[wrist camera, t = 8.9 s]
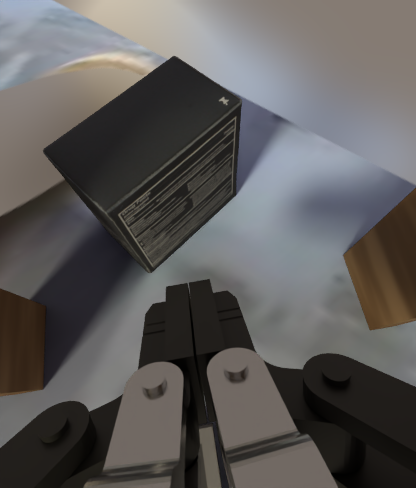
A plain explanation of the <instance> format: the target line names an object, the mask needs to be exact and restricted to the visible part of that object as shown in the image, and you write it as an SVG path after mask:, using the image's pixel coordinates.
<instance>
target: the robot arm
mask: <svg viewBox="0 0 416 488" xmlns="http://www.w3.org/2000/svg"><path fill="white" fill-rule="evenodd" d="M189 288H190V294H189ZM189 288H188V284H187V283H185V284H179V285H174V286H168V287H166V302H160V303H155V304H152V306H151V307H150V309H149V310H148V311H147V313H146V314H145V322H144V329H143V337H142V344H141V352H140V359H139V367H138V370H137V371H136V372H135V373H134V374H133V375H132V376H131V377H130V378H129V380H128V382H127V383H126V386H125V389H124V393H123V394H122V395H121V396H120V397H118V398H117V399H115V400H113V401H111V402H109V403H107V404H105V405H103V406H101V407H99V408H97V409H94V410H92V411H90V412H89V411H88V409H87V407H86V406H85V405H84V404H82V403H80V402H76V401H67V402H62V403H59V404H56V405H54V406H52V407H50V408H48V409H46V410H45V411H43V412H42V413H41V414H39V415H38V416H37V417H36V418H35V419H33V420H32V421H31V422H30V423H29V424H28V425H27V426H25V427H24V428H23V429H22V430H21V431H20V432H18V433H17V434H16V435H15V436H14V437H13V438H12V439H10V440H9V441H8V442H7V443H6V444H5V445H4V446H2V447H1V448H0V488H201V454H200V449H199V448H200V434H199V425H200V424H205V423H207V418H206V409H205V402H206V407H207V412H208V417H209V422H214V421H216V426H217V431H218V437H219V442H220V448H221V453H222V458H223V462H224V466H225V471H226V475H227V480H228V484H229V488H416V387H415V386H412V385H410V384H408V383H405V382H403V381H401V380H399V379H396V378H394V377H392V376H390V375H387V374H385V373H383V372H381V371H378V370H376V369H374V368H372V367H369V366H367V365H365V364H363V363H360V362H358V361H356V360H354V359H351V358H349V357H346V356H343V355H339V354H331V353H327V354H320V355H317V356H314V357H312V358H311V359H309V360H308V361H307V362H306V364H305V365H304V368H303V370H301V369H288V368H281V367H277V366H274V365H271V364H269V363H267V362H265V361H264V360H263V359H262V358H261V357H260V356H259V355H258V354H257V353H256V351H255V349H254V346H253V343H252V340H251V338H250V335H249V332H248V329H247V326H246V324H245V321H244V318H243V315H242V312H241V310H240V307H239V304H238V301H237V298H236V297H235V296H233V295H232V294H231V293H230V292H228V291H222V292H216V293H213V291H212V287H211V283H210V279H207V280H202V281H196V282H190V283H189ZM190 298H191V299H190ZM203 391H204V392H203ZM204 396H205V400H204Z"/></svg>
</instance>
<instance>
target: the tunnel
mask: <svg viewBox="0 0 416 488" xmlns="http://www.w3.org/2000/svg"><path fill="white" fill-rule="evenodd" d="M343 256H344V259H345V262H346V265H347V268H348V270H349V273H350V276H351V279H352V281H353V284H354V287H355V290H356V293H357V295H358V298H359V301H360V304H361V307H362V309H363V312H364V315H365V318H366V321H367V323H368V326H369V329H370V330H375V329H381V328H386V327H392V326H397V325H401V324H405V323H408V322H412V321H416V188H415V189H414V190H413V191H412V192H411V193H410V194H409V195H408V196H406V197H405V198H404V199H403V200H402V201H401V202H400V203H399V204H398V205H397V206H396V207H395V208H394V209H392V210H391V211H390V212H389V213H388V214H387V215H386V216H385V217H384V218H383V219H382V220H381V221H380V222H378V223H377V224H376V225H375V226H374V227H373V228H372V229H371V230H370V231H369V232H368V233H367V234H366V235H364V236H363V237H362V238H361V239H360V240H359V241H358V242H357V243H356V244H355V245H354V246H353V247H352V248H350V249H349V250H348V251H347V252H346V253H345V254H344V255H343ZM45 318H46V306H45V305H42V304H39V303H37V302H34V301H32V300H29V299H26V298H24V297H21V296H18V295H16V294H13V293H11V292H8V291H5V290H3V289H0V396H6V395H15V394H20V393H26V392H32V391H37V390H43V379H44V348H45Z"/></svg>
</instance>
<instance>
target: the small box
mask: <svg viewBox="0 0 416 488" xmlns="http://www.w3.org/2000/svg"><path fill="white" fill-rule="evenodd" d="M241 106H242V100H241V99H240V98H239V97H237V96H236V95H234V94H232V93H231V92H229V91H228V90H226V89H225V88H223V87H222V86H220V85H219V84H217V83H216V82H214V81H213V80H211V79H210V78H208V77H206V76H205V75H204V74H202V73H200V72H199V71H197V70H196V69H195V68H193V67H191V66H190V65H188V64H187V63H185V62H184V61H182V60H181V59H179V58H178V57H176V56H173V57H171V58H170V59H169V60H167V61H166V62H165V63H163V64H162V65H160V66H159V67H158V68H156V69H155V70H153V71H152V72H151V73H149V74H148V75H147V76H145V77H144V78H143V79H141V80H140V81H138V82H137V83H136V84H134V85H133V86H131V87H130V88H129V89H127V90H126V91H125V92H123V93H122V94H120V95H119V96H118V97H116V98H115V99H113V100H112V101H110V102H109V103H108V104H106V105H105V106H103V107H102V108H101V109H100V110H98V111H97V112H95V113H94V114H92V115H91V116H90V117H88V118H87V119H85V120H84V121H83V122H81V123H80V124H78V125H77V126H76V127H74V128H73V129H71V130H70V131H69V132H67V133H66V134H64V135H63V136H61V137H60V138H59V139H57V140H56V141H54V142H53V143H52V144H50V145H49V146H47V147H46V148H44V150H43V152H44V154H45V155H46V156H47V158H48V159H49V160H50V161H51V163H52V164H53V165H54V166H55V168H57V170H58V171H59V172H60V173H61V174H62V176H63V177H64V178H65V180H66V181H67V182H68V183H69V185H70V186H71V187H72V188H73V190H74V191H75V192H76V193H77V195H78V196H79V197H80V198H81V200H82V201H83V202H84V203H85V204H86V206H87V207H88V208H89V209H90V210H91V212H92V213H93V214H94V215H95V216H96V218H97V219H98V220H99V221H100V222H101V224H102V225H103V226H104V228H105V229H106V230H107V231H108V232H109V233H110V234H111V236H112V237H113V238H114V239H115V240H116V241H117V242H118V243H119V244H120V245H121V246H122V247H123V248H124V249H125V250H126V251H127V252H128V253H129V254H130V255H131V256H132V257H133V258H134V259H135V260H136V261H137V262H138V263H139V264H140V265H141V266H142V267H143V268H144V269H145V271H147V272H148V273H152V272H153V271H154V270H155V269H156V268H157V267H158V266H159V265H160V264H162V263H163V262H164V261H165V260H166V259H167V258H168V257H169V256H170V255H171V254H172V253H174V252H175V251H176V250H177V249H178V248H179V247H180V246H182V244H183V243H184V242H186V241H187V240H188V239H189V238H190V237H191V236H192V235H193V234H194V233H195V232H196V231H198V230H199V229H200V228H201V227H202V226H203V225H204V224H205V223H206V222H207V221H208V220H209V219H211V218H212V217H213V216H214V215H215V214H216V213H217V212H218V211H219V210H220V209H221V208H222V207H223V206H224V205H226V204H227V203H228V202H229V201H230V200H231V199H232V198H233V197H234V196H235V195H236V173H237V161H238V148H239V132H240V119H241Z"/></svg>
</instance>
